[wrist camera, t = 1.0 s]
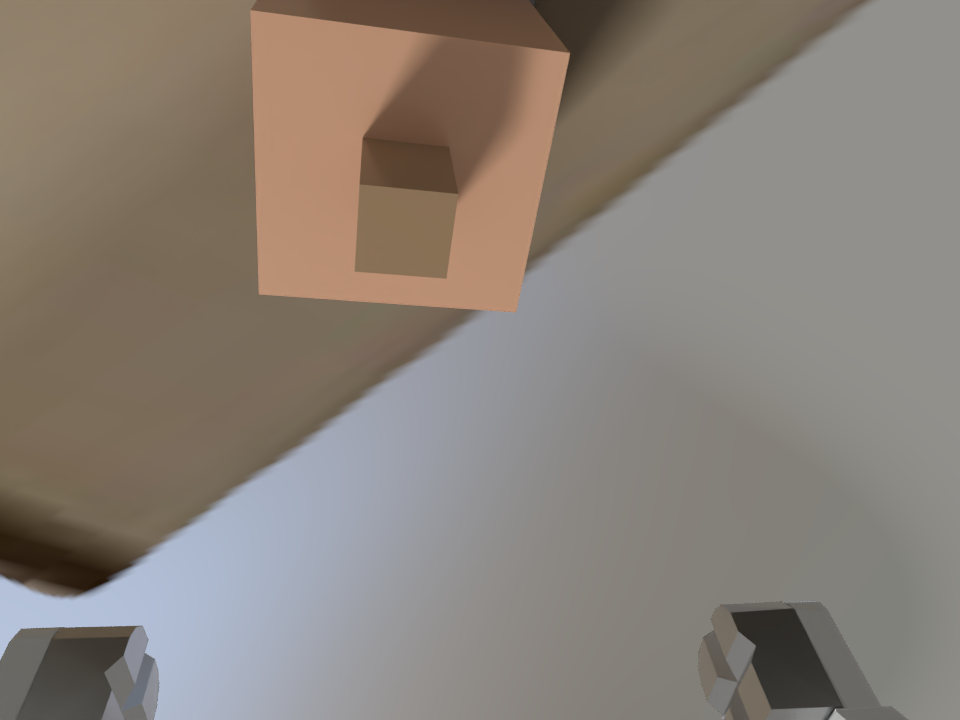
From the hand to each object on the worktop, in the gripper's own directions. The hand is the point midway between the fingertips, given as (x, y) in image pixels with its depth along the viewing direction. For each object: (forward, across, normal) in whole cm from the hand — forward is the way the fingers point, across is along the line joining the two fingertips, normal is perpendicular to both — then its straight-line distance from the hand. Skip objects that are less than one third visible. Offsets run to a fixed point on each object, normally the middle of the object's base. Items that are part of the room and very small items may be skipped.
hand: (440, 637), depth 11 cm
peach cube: (+30, +1, +1) cm, 30 cm away
